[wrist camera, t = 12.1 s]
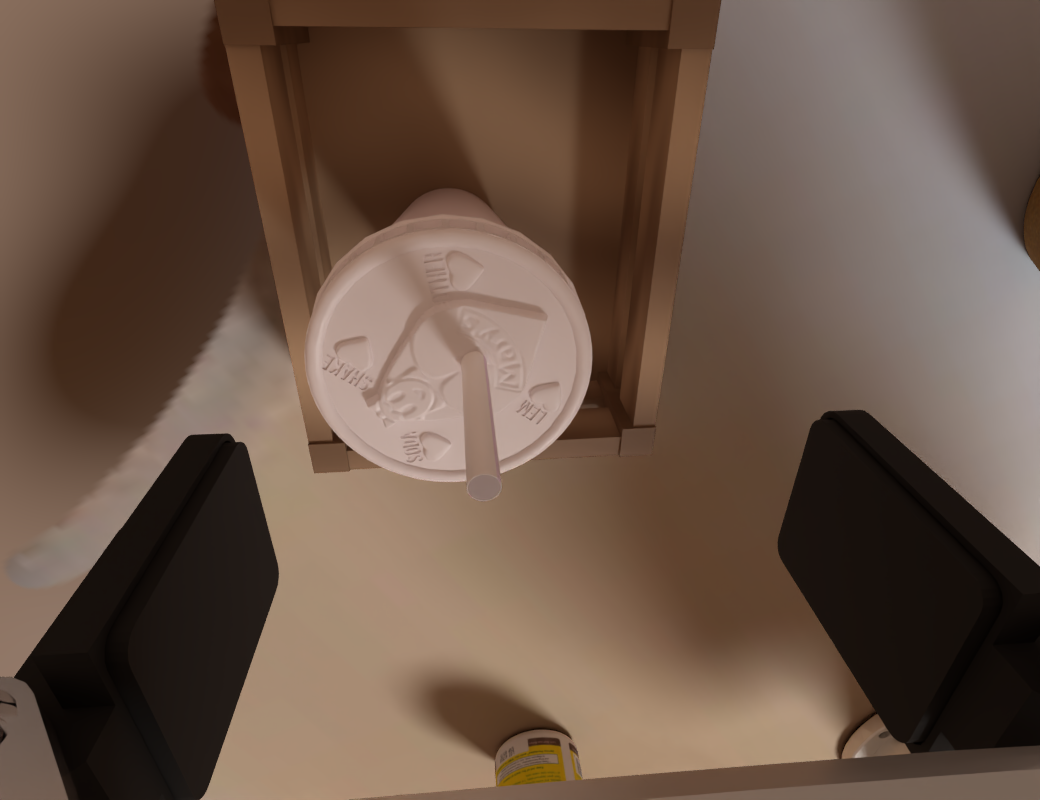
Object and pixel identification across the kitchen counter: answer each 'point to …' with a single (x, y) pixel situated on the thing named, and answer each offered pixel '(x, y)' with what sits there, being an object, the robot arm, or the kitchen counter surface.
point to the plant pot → (1033, 225)
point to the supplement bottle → (537, 759)
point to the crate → (484, 159)
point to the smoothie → (448, 346)
